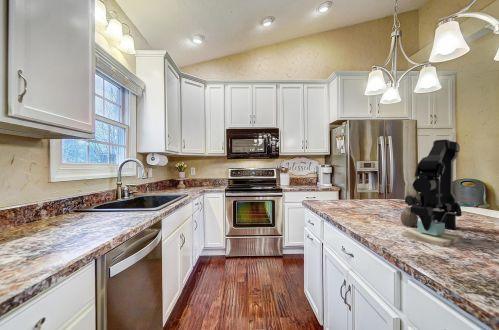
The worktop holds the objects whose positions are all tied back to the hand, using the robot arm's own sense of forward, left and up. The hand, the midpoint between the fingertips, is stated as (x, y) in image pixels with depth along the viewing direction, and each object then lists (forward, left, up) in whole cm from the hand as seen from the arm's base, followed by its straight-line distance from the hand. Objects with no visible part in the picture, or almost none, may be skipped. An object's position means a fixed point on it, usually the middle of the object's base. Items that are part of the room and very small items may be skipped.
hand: (431, 229), depth 88 cm
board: (0, 0, -4) cm, 4 cm away
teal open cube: (0, 0, -1) cm, 1 cm away
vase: (-11, -14, -4) cm, 18 cm away
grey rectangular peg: (0, 0, -2) cm, 2 cm away
